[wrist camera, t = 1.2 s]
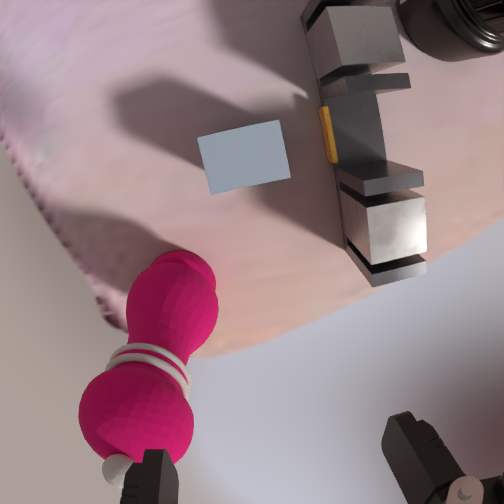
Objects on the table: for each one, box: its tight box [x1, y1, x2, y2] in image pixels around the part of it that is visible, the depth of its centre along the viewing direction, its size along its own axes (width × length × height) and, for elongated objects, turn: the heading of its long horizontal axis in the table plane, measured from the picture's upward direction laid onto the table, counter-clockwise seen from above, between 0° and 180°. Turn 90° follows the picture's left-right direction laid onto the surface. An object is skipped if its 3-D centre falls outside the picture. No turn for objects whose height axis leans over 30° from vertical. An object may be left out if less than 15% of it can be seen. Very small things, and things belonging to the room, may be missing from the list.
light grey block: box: [197, 120, 291, 195], centre depth 22 cm, size 4×5×7 cm
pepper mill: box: [78, 251, 219, 489], centre depth 20 cm, size 7×7×20 cm
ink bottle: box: [397, 0, 504, 62], centre depth 14 cm, size 10×9×12 cm
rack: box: [301, 0, 426, 287], centre depth 21 cm, size 20×5×7 cm, turn 12°
